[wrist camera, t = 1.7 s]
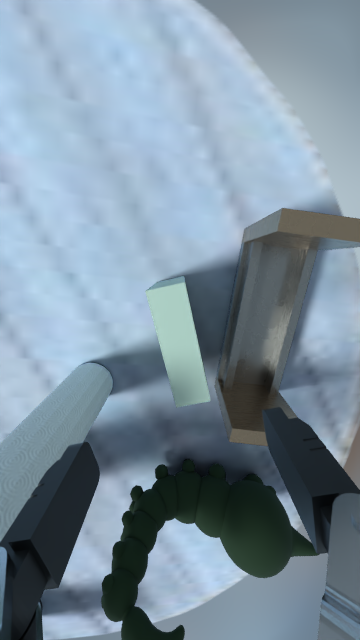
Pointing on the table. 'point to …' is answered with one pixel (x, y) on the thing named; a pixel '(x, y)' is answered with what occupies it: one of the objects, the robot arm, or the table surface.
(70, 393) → the paper towel roll
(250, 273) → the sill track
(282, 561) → the toy figurine
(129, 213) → the table surface
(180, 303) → the pale green rectangular block
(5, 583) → the robot arm
